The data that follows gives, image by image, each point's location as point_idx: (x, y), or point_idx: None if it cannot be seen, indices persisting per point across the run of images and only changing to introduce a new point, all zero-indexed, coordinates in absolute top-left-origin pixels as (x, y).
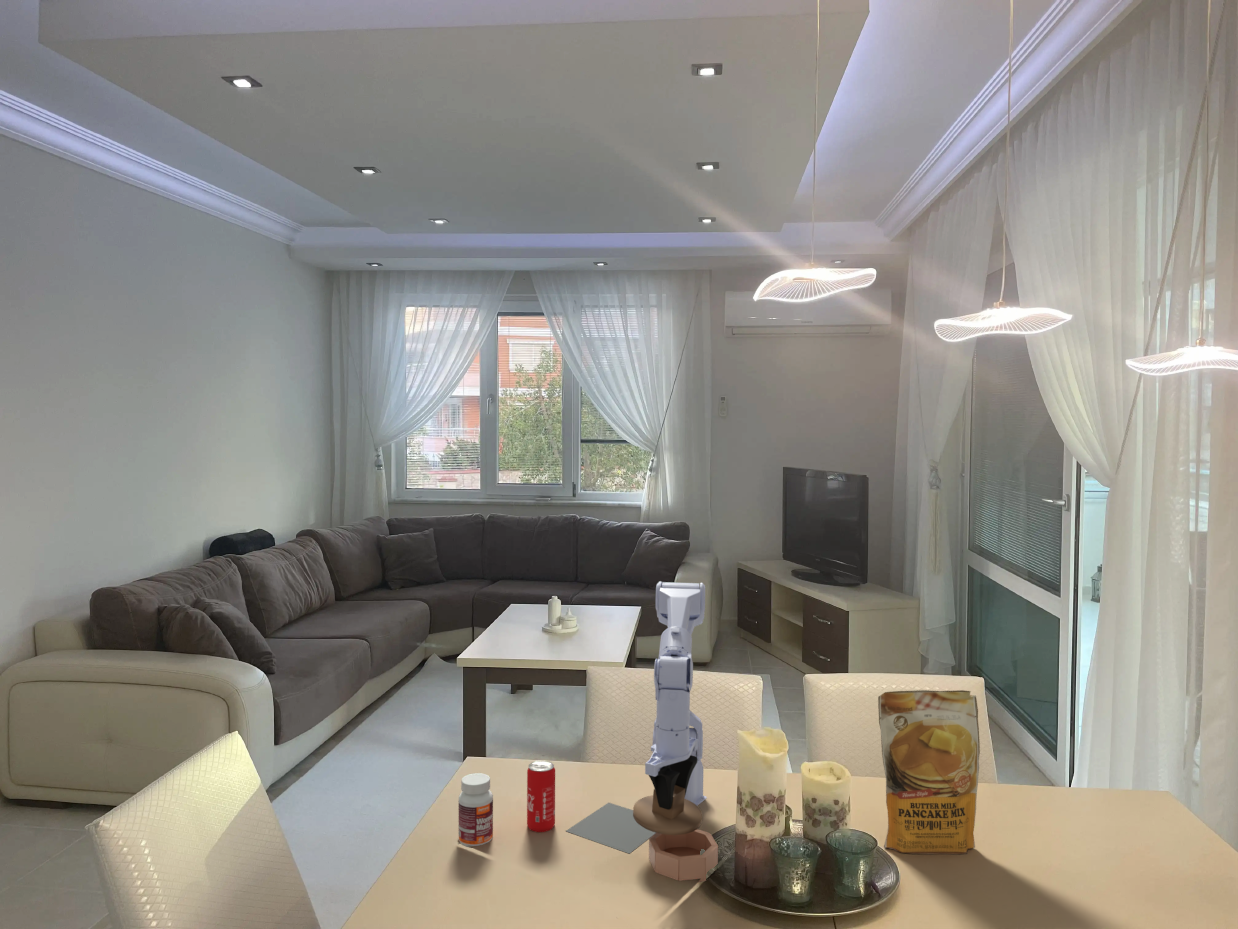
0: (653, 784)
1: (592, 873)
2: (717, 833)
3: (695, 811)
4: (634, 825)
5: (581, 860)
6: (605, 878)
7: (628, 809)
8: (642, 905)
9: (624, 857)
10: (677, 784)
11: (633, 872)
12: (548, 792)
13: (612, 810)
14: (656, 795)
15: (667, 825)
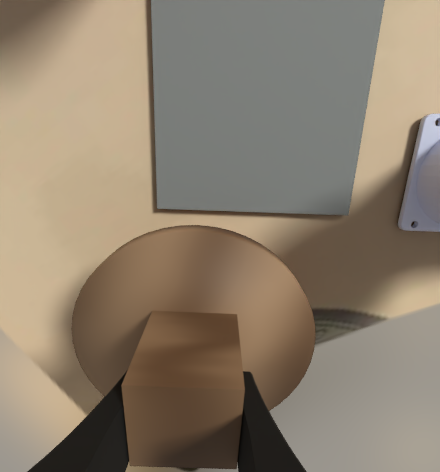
0: (42, 461)
1: (50, 172)
2: (355, 317)
3: None
4: (286, 144)
5: (75, 114)
6: (54, 208)
7: (368, 73)
8: (33, 314)
9: (151, 198)
10: (243, 445)
11: (113, 246)
12: None
13: (340, 30)
14: (102, 400)
15: (112, 381)
